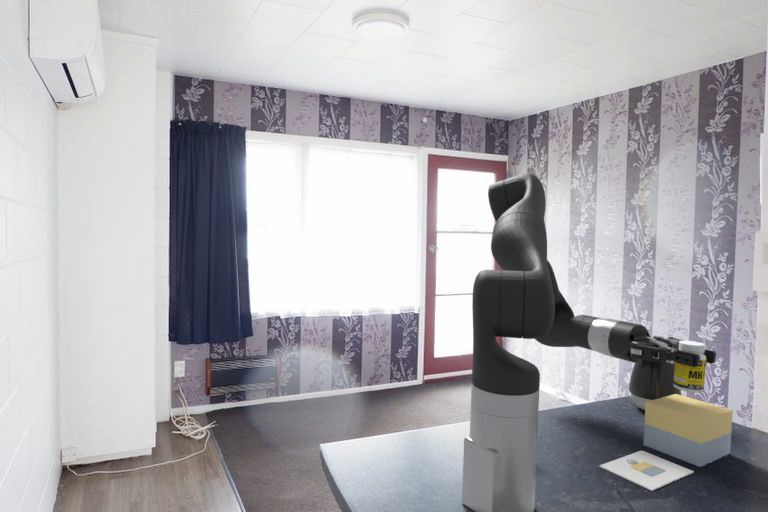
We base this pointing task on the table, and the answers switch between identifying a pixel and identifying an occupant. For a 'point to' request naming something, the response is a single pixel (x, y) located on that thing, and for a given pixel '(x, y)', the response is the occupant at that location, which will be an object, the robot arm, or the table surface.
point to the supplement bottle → (690, 369)
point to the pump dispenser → (651, 382)
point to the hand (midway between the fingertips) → (706, 359)
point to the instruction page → (646, 470)
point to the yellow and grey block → (688, 429)
